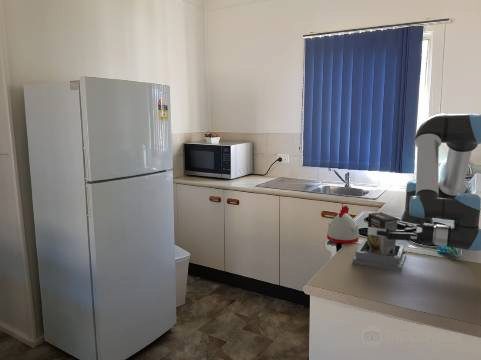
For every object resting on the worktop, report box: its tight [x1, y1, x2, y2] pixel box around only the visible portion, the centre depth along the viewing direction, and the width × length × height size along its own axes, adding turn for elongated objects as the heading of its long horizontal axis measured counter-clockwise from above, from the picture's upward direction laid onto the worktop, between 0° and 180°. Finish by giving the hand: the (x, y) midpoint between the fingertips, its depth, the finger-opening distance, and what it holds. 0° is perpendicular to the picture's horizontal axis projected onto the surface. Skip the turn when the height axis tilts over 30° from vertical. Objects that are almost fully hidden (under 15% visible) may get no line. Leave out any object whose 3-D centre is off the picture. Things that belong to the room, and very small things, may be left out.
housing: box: [352, 239, 407, 272], centre depth 150 cm, size 17×17×4 cm
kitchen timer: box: [326, 205, 360, 245], centre depth 174 cm, size 14×14×15 cm
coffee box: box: [366, 211, 398, 257], centre depth 148 cm, size 9×6×16 cm
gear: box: [436, 237, 459, 258], centre depth 155 cm, size 11×6×10 cm
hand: (370, 226), depth 150 cm, fingers open, 11 cm apart
